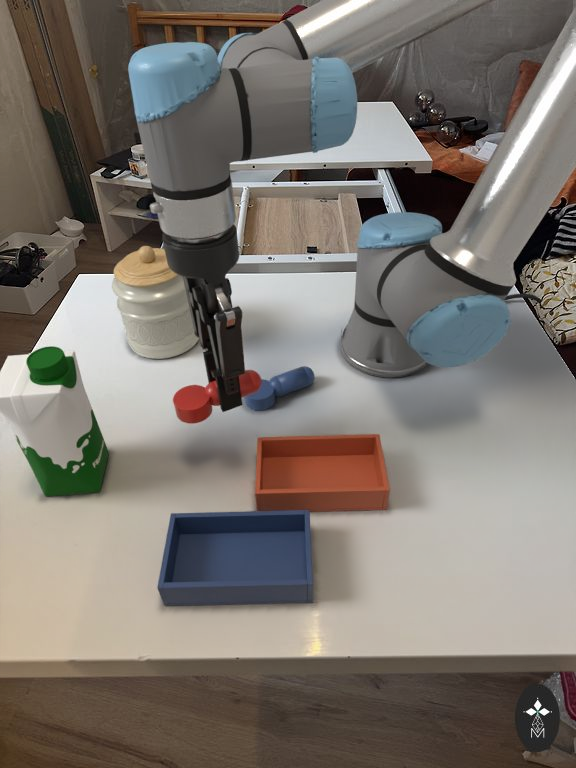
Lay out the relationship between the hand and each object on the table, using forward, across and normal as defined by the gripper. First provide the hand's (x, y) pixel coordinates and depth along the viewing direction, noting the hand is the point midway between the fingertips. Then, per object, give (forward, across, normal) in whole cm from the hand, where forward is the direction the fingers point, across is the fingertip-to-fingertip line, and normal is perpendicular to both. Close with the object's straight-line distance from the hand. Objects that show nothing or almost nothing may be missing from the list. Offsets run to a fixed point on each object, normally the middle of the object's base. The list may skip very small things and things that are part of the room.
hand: (226, 397), depth 69 cm
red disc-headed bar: (0, 0, -1) cm, 1 cm away
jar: (+9, -30, -1) cm, 31 cm away
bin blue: (+9, +18, -6) cm, 21 cm away
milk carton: (+9, -5, -21) cm, 23 cm away
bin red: (+9, +11, +8) cm, 17 cm away
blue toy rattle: (+9, -7, +10) cm, 16 cm away
